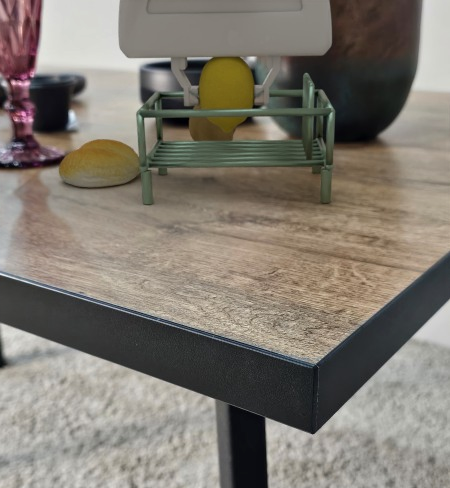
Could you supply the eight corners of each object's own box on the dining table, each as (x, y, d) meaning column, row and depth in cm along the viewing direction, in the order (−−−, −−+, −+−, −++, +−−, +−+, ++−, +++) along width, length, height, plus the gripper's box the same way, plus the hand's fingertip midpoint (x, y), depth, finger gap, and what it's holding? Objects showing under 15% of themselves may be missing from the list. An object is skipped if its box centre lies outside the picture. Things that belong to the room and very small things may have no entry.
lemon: (248, 127, 77) (248, 46, 74) (260, 136, 72) (260, 50, 69) (196, 129, 76) (193, 47, 73) (203, 139, 71) (201, 52, 68)
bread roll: (49, 188, 77) (44, 149, 76) (84, 168, 85) (80, 133, 84) (123, 191, 76) (120, 152, 74) (151, 171, 84) (149, 135, 82)
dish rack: (140, 205, 71) (133, 88, 66) (158, 172, 83) (153, 72, 79) (332, 204, 70) (337, 86, 66) (321, 171, 82) (324, 69, 78)
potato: (197, 167, 85) (195, 95, 82) (179, 154, 92) (177, 87, 89) (254, 161, 87) (254, 91, 84) (233, 149, 94) (232, 84, 91)
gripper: (334, -51, 70) (329, 99, 76) (121, -46, 71) (130, 101, 77) (341, -54, 64) (334, 108, 70) (108, -49, 65) (120, 111, 71)
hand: (226, 105), depth 73 cm, fingers closed on lemon, 5 cm apart
